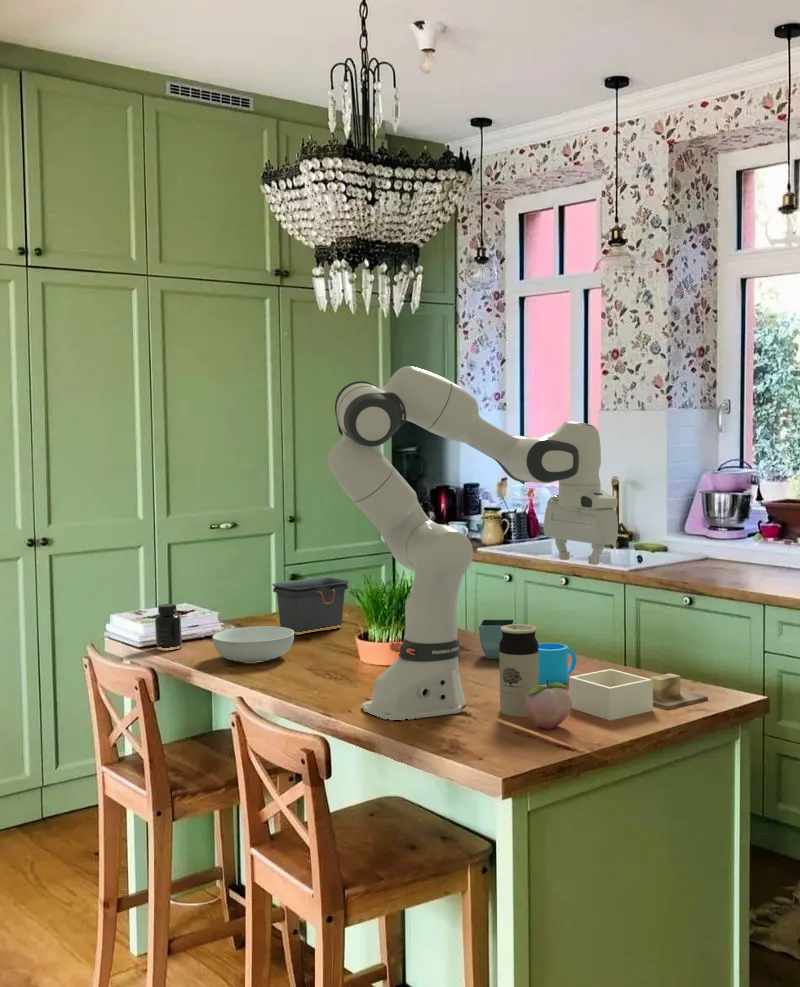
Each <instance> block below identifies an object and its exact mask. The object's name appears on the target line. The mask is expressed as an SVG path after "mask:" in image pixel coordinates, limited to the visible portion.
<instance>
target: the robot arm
mask: <svg viewBox="0 0 800 987" xmlns="http://www.w3.org/2000/svg"><path fill="white" fill-rule="evenodd" d="M479 411H480V410H479V405H478V401H477V400H476V398H475V397H474V396H473V395H471V393H469V392H468V391H466V390H465V389H464V388H462V386H459V385H458V384H456V383H454V382H452V381H450V380H448V379H446V378H445V377H442V376H441V375H438V374H435V373H433V372H431V371H429V370H426V369H421V368H419V367H415V366H410V365H407V366H402V367H401V368H399V369H398V370H396V371H395V372H394V373H393V374H392V376H391V377H390V379H389V381H388V383H386V384H385V385H384V386H382V387H377V386H376V385H375V384H373V383H371V382H369V381H359V380H358V381H353V382H350V383H348V384H346V385H345V386H343V387H342V389H340V391H339V392H338V394H337V396H336V399H335V403H334V413H335V418H336V423H337V429H338V433H339V434H340V435H341V438H340V440H339V441H337V443H335V445H334V446H333V447H332V448H331V450H330V452H329V454H328V458H327V464H328V467H329V470H330V471H331V473H332V475H333V477H334V478H335V480H336V481H337V482H338V484H339V485H340V487H341V489H342V490H343V491H344V492H345V494H346V495H347V496H348V498H350V499H351V501H352V502H353V503H354V504H355V505H356V507H357V508H358V509H359V510H360V511H361V512H362V513H363V514H364V516H365V517H366V518H367V519H368V520H369V522H371V523H372V524H373V526H374V527H375V529H377V532H379V534H380V536H381V537H382V539H383V541H384V542H385V544H386V545H387V546H388V549H389V550H390V553H391V555H392V557H393V558H394V559H395V560H396V561H397V562H398V563H399V564H400V565H402V566H403V567H404V568H405V569H407V570H410V571H414V576H413V577H414V578H413V582H412V587H411V590H410V593H409V596H408V597H407V598H406V600H405V605H404V612H405V613H404V616H405V617H404V618H405V620H404V621H405V622H404V624H405V637H404V639H403V641H402V644H401V643H399V642H396V641H392V642H390V644H389V650H390V651H392V652H395V653H398V657H397V659H395V661H394V662H392V664H390V665H389V666H388V667H387V668H386V670H384V671H383V672H382V673H381V674H380V675H379V676H378V677H377V678H376V679H375V681H374V683H373V684H374V685H373V687H372V689H373V690H372V696H371V700H367V701H364V702H362V705H361V709H362V708H363V709H364V710H365V711H366V712H368V713H370V714H372V715H375V716H377V717H376V718H378V717H380V718H379V719H382V718H383V719H382V720H386V719H389V720H388V721H393V720H401V721H406V720H405V719H408V720H415V718H416V719H422V718H430V717H437V716H439V717H440V716H444V715H452V714H459V713H461V712H462V711H463V710H462V708H463V707H464V706H466V704H467V701H466V698H465V695H464V690H463V686H462V681H461V674H460V673H461V672H460V667H459V666H460V665H459V659H460V654H461V652H460V650H461V649H460V645H461V644H460V638H459V637H458V600H459V596H460V595H459V594H460V590H461V586H462V581H463V577H464V574H465V572H466V571H467V570H468V569H469V567H470V566H471V564H472V561H473V557H474V549H473V545H472V542H471V540H470V539H469V538H468V537H467V536H466V535H465V534H464V533H462V532H461V531H460V530H458V529H457V528H455V527H453V526H451V525H445V524H441V523H440V524H439V523H437V522H435V521H433V520H432V519H430V518H429V516H428V514H426V513H425V511H424V509H423V508H422V505H421V504H420V502H419V500H418V496H417V492H416V491H415V490H414V489H413V487H412V486H410V484H409V483H408V482H407V480H406V479H405V478H404V477H403V476H402V475H401V474H400V472H399V470H397V469H396V468H395V466H394V465H393V464H392V463H391V462H390V461H389V460H388V459H387V457H386V456H385V455H384V453H383V452H382V451H381V449H380V446H382V445H383V444H384V443H386V442H388V441H389V440H390V439H391V438H392V437H394V434H395V433H396V432H397V431H398V430H400V428H401V427H402V426H403V425H405V423H406V421H407V422H410V423H413V424H415V425H417V426H418V427H420V428H422V429H424V430H426V431H428V432H429V433H432V434H434V435H436V436H440V437H441V438H444V439H448V440H451V441H455V442H459V443H460V442H461V443H463V444H466V445H468V446H470V447H471V448H473V449H476V451H479V452H480V453H483V454H484V455H486V456H487V457H489V458H491V459H493V460H494V461H495V462H496V463H497V464H498V465H499V466H500V467H501V469H502V470H503V471H504V473H505V474H506V475H507V476H508V477H509V478H510V479H512V480H514V481H516V482H519V483H535V484H536V483H540V484H551V483H553V482H558V495H552V496H551V497H550V498H549V499H548V500H547V502H546V504H547V505H546V508H545V513H544V517H543V534H544V536H545V537H547V538H551V539H552V538H553V539H555V545H556V548H557V550H558V559H559V560H563V561H569V560H570V555H571V553H570V551H568V549H567V546H566V545H567V543H568V541H573V542H580V543H586V544H587V543H588V544H591V549H592V552H591V554H590V555H588V556H587V558H588V560H587V561H588V564H589V565H592V566H593V565H594V566H596V565H599V564H600V557H601V554H602V552H603V550H604V547H605V546H606V545H607V546H609V545H614V544H615V543H616V542H617V540H618V536H619V534H618V533H619V521H618V520H619V519H618V513H617V510H616V508H617V507H618V504H619V502H618V499H617V497H615V496H613V495H611V494H609V493H608V492H606V491H604V490H603V489H601V484H602V483H601V479H600V468H601V463H602V454H601V453H602V451H601V438H600V434H599V431H598V429H597V428H596V427H595V426H594V425H592V424H589V423H585V422H579V421H565V422H563V423H562V424H561V425H560V426H559V427H558V428H556V429H555V430H553V431H550V432H549V433H547V434H544V435H541V436H540V437H531V436H527V435H526V436H523V435H518V436H517V435H512V434H509V433H507V432H505V431H504V430H502V429H500V428H499V427H496V426H495V425H493V424H492V423H490V422H488V421H486V420H485V419H483V418H482V417H481V416H480V414H479ZM365 711H364V712H365ZM366 712H365V713H366ZM368 713H367V714H368ZM370 714H369V715H370ZM372 715H371V716H372ZM375 716H374V717H375Z"/></svg>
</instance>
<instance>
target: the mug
mask: <svg viewBox="0 0 800 987" xmlns="http://www.w3.org/2000/svg"><path fill="white" fill-rule="evenodd" d="M568 653H569V654H570V656H571V663H570V666H569V664H568V662H569V660H568V658H569V657H568ZM538 658H539V685H547V680H548V684H551V683H561V684H566V683H567V684H569V675H570V674H572V673H573V671H574V670H575V668H576V665H577V661H578V660H577V655H576V653H575V652H574V651H573V649H571V648H569V647H568V645H567V644H566V645H565V644H564V643H563V644H562V643H557V642H556V643H555V642H540V643H538Z"/></svg>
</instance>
